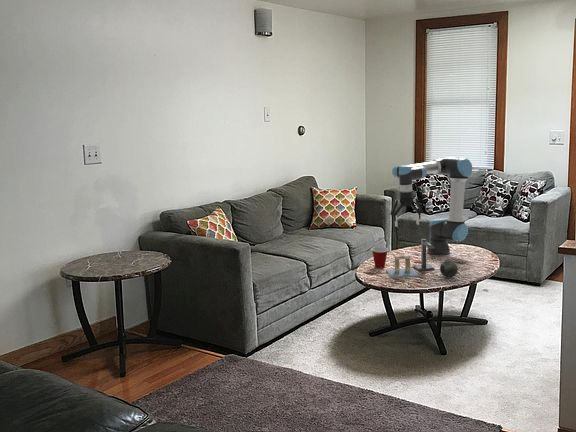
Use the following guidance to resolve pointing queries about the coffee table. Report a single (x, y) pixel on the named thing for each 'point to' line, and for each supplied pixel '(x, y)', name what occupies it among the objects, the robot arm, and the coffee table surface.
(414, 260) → the coffee table surface
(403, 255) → the wooden u-bracket
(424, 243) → the stand
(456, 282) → the coffee table surface
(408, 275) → the mat
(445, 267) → the decorative stone
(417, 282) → the coffee table surface
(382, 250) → the plastic cup
